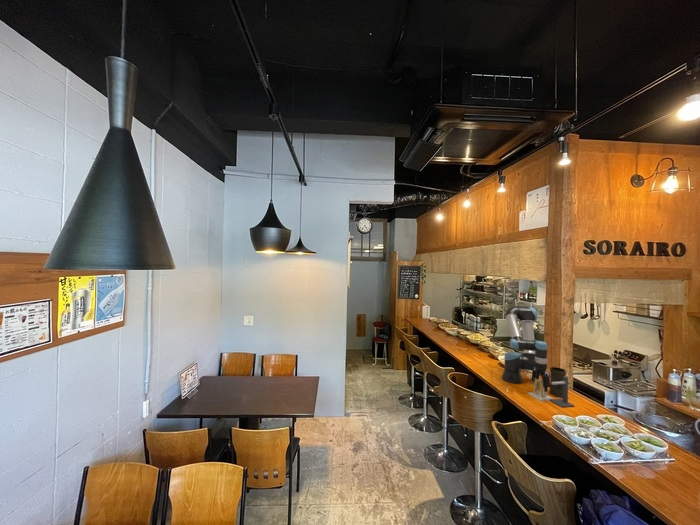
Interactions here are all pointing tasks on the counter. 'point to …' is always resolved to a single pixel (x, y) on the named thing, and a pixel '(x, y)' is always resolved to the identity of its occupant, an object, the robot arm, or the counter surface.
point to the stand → (564, 401)
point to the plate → (539, 397)
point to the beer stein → (557, 377)
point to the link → (537, 386)
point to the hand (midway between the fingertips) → (540, 393)
